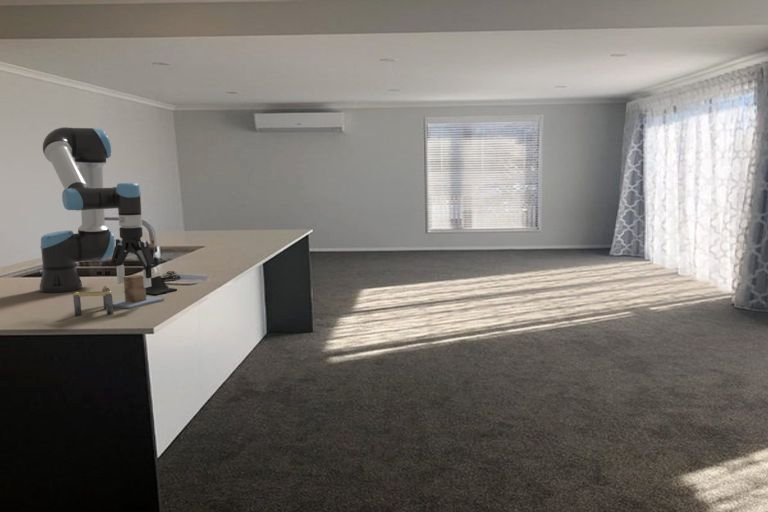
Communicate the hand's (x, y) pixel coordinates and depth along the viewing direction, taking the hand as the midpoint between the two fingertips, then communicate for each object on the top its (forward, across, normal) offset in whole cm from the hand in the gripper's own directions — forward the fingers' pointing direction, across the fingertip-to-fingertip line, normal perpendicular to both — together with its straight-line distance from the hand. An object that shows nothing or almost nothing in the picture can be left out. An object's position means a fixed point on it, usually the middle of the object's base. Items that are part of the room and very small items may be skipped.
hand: (134, 285), depth 215 cm
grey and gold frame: (+6, +3, -16) cm, 18 cm away
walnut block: (+6, 0, 0) cm, 6 cm away
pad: (+6, +1, 0) cm, 7 cm away
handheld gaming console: (+7, -7, +17) cm, 20 cm away
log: (+8, -26, +39) cm, 47 cm away
